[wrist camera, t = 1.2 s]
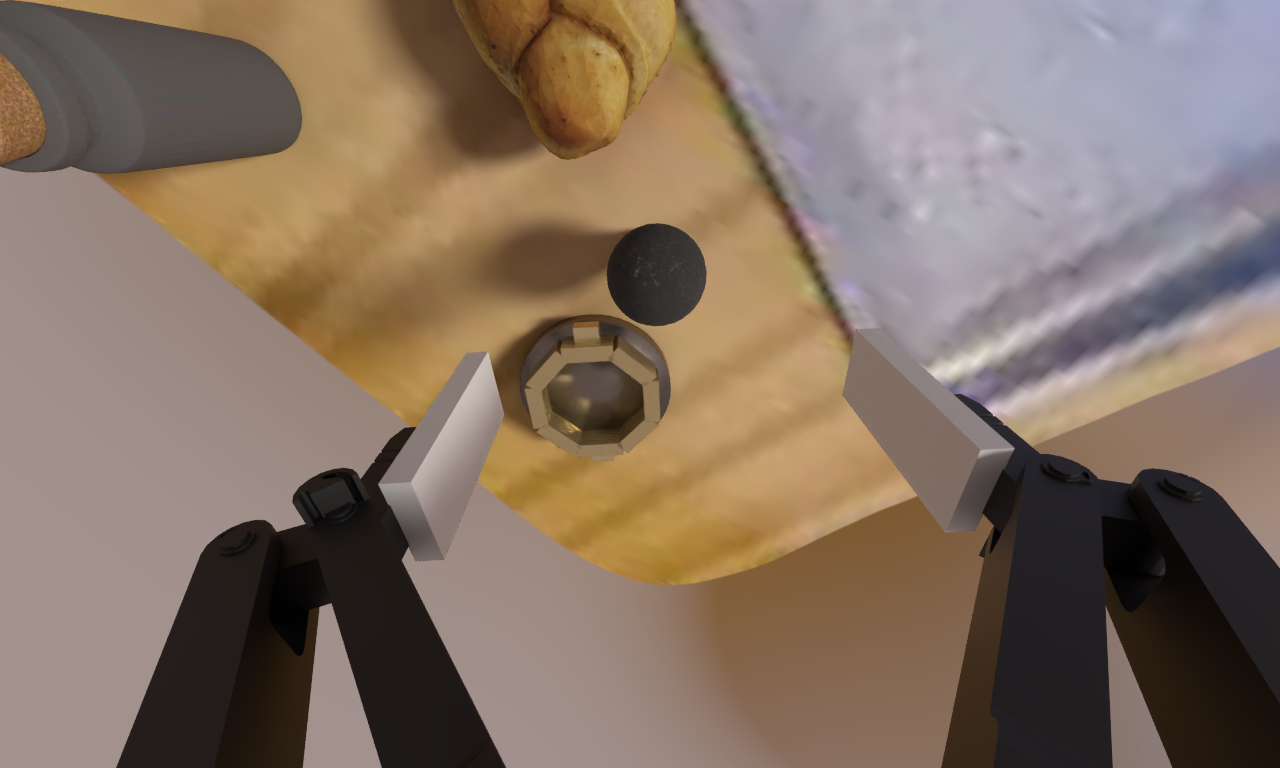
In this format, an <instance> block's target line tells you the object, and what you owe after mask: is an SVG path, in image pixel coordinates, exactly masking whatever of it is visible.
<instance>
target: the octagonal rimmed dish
mask: <svg viewBox="0 0 1280 768" xmlns="http://www.w3.org/2000/svg"><path fill="white" fill-rule="evenodd" d="M520 389H521V395H522V399H523V402H524V405H525V407H526V409H527V411H528V413H529V414H530V416H531V420H532V424H533V429H537V432H536V433H538V434H540V435H541V436H543V437H544V438H546V439H548V440H549V441H551V442H552V443H554V444H555V445H557V446H559V447H560V448H562V449H563V450H565V451H567V452H568V453H570V454H571V455H573V456H574V455H575V454H576V453H577V452H578V457H592V462H601V461H613V458H614V455H623V450H624V451H626V452H627V453H628V452H629V451H631V450H632V449H633V448H634V447H635V446H636V445H637V444H638V443H640V442H641V441H642V440H643V439H644V438H645V437H646V436H647V435H649V434H650V433H651V432H652V431H653V430H654V429H655V428H656V427H657V426H659V425H658V423H659V422H660V420H661V419H662V417H663V415H664V413H665V412H666V409H667V407H668V404H669V399H670V391H671V386H670V377H669V370H668V366H667V362H666V360H665V357H664V355H663V353H662V351H661V350H660V348H659V346H658V345H657V344H656V343H655V341H654V340H653V339H652V338H651V337H650V336H649V335H648V334H647V333H646V332H644V331H643V330H641V329H640V328H639V327H637V326H635V325H633V324H631V323H630V322H627V321H625V320H622V319H619V318H615V317H611V316H605V315H583V316H577V317H573V318H569V319H566V320H564V321H561V322H559V323H557V324H555V325H554V326H552V327H550V328H549V329H548V330H546V331H545V332H544V333H543V334H542V335H541V336H540V337H539V338H538V339H537V340H536V341H535V343H534V344H533V346H532V347H531V349H530V351H529V353H528V355H527V358H526V360H525V363H524V366H523V369H522V372H521V378H520Z"/></svg>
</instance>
